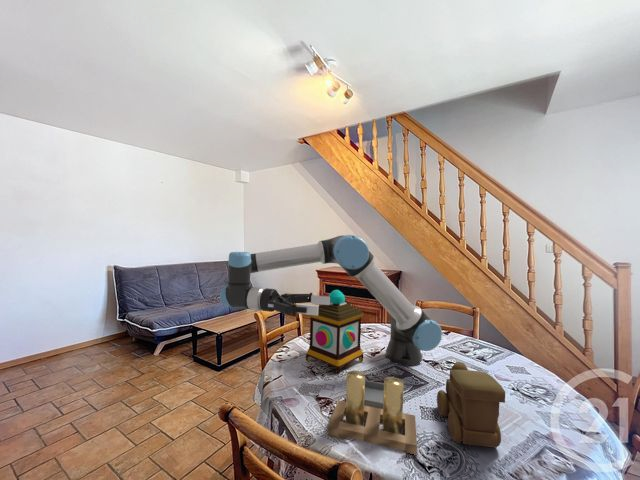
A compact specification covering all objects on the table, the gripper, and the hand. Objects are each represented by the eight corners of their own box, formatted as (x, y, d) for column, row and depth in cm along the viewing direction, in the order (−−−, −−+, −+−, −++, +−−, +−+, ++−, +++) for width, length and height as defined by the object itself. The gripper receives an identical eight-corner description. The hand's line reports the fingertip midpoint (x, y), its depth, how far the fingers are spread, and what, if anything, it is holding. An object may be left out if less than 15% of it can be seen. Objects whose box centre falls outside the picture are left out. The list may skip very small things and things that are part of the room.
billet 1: (355, 417, 81) (356, 369, 81) (367, 427, 77) (369, 376, 76) (341, 423, 78) (343, 373, 78) (353, 434, 74) (355, 381, 74)
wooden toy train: (507, 461, 66) (510, 391, 66) (456, 455, 68) (459, 386, 68) (472, 409, 86) (474, 356, 86) (433, 406, 88) (435, 353, 87)
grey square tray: (361, 386, 98) (361, 379, 98) (397, 393, 94) (397, 385, 94) (356, 406, 86) (356, 398, 86) (396, 414, 83) (396, 405, 83)
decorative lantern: (331, 348, 131) (333, 284, 131) (367, 361, 118) (370, 290, 117) (300, 361, 116) (302, 289, 116) (338, 378, 103) (341, 297, 102)
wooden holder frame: (327, 435, 73) (328, 425, 73) (338, 408, 85) (338, 400, 85) (416, 456, 67) (417, 445, 67) (414, 424, 79) (415, 415, 78)
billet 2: (391, 425, 78) (393, 375, 78) (405, 436, 74) (407, 383, 73) (378, 431, 75) (380, 379, 75) (392, 443, 71) (394, 388, 71)
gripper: (279, 302, 107) (333, 308, 101) (243, 320, 83) (311, 329, 77) (279, 282, 107) (333, 287, 101) (244, 295, 83) (312, 302, 77)
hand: (324, 305), depth 89 cm, fingers open, 13 cm apart
